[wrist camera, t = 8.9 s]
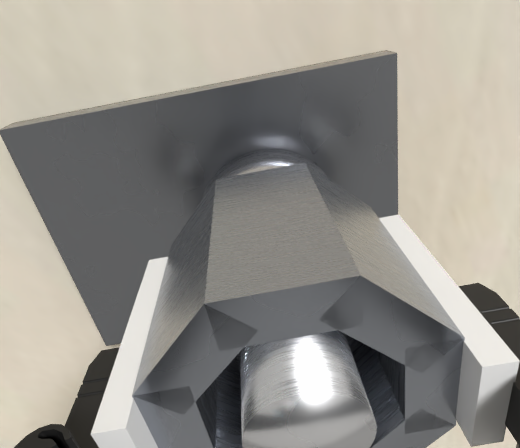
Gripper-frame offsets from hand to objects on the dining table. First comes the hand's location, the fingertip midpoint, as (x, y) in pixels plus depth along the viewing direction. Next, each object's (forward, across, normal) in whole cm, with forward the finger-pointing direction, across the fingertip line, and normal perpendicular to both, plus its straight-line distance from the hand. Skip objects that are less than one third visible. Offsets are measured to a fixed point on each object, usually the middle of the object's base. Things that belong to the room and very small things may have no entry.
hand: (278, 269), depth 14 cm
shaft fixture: (+6, -2, 0) cm, 6 cm away
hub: (+1, 0, 0) cm, 1 cm away
